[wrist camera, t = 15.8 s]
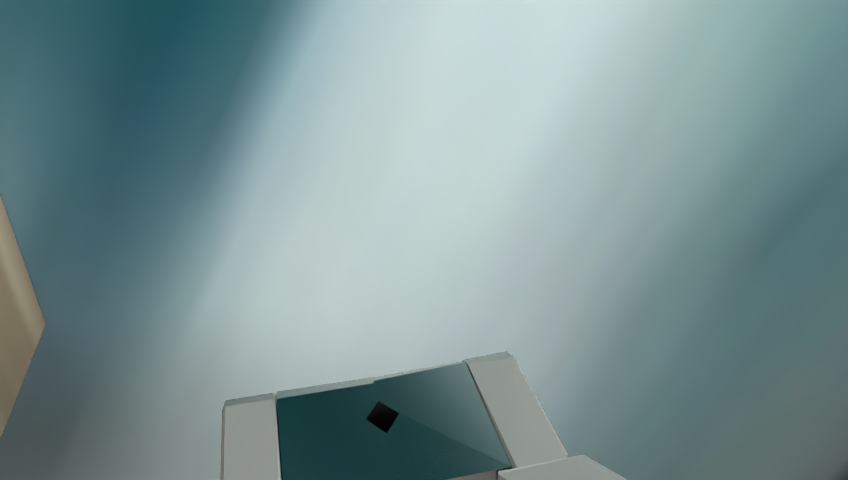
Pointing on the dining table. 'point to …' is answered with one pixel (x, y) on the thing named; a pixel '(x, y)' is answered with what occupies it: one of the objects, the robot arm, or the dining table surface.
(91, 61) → the dining table surface
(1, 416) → the tan rectangular block
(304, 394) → the robot arm
